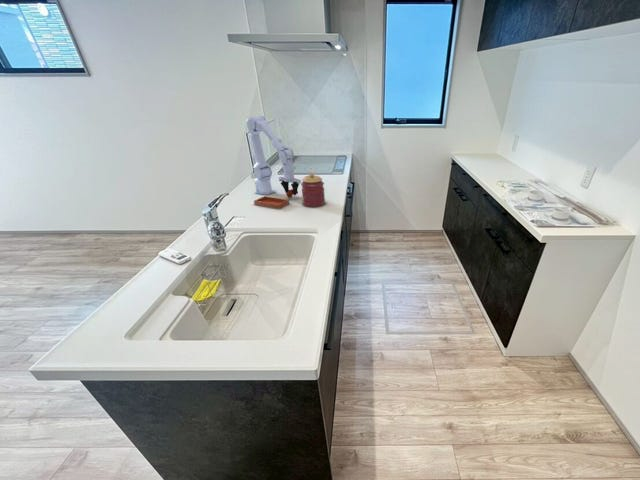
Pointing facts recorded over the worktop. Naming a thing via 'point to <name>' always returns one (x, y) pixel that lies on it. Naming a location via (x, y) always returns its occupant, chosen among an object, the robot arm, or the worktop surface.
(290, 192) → the vegetable
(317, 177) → the kitchen canister
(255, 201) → the tray
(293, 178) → the robot arm
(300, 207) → the worktop surface
